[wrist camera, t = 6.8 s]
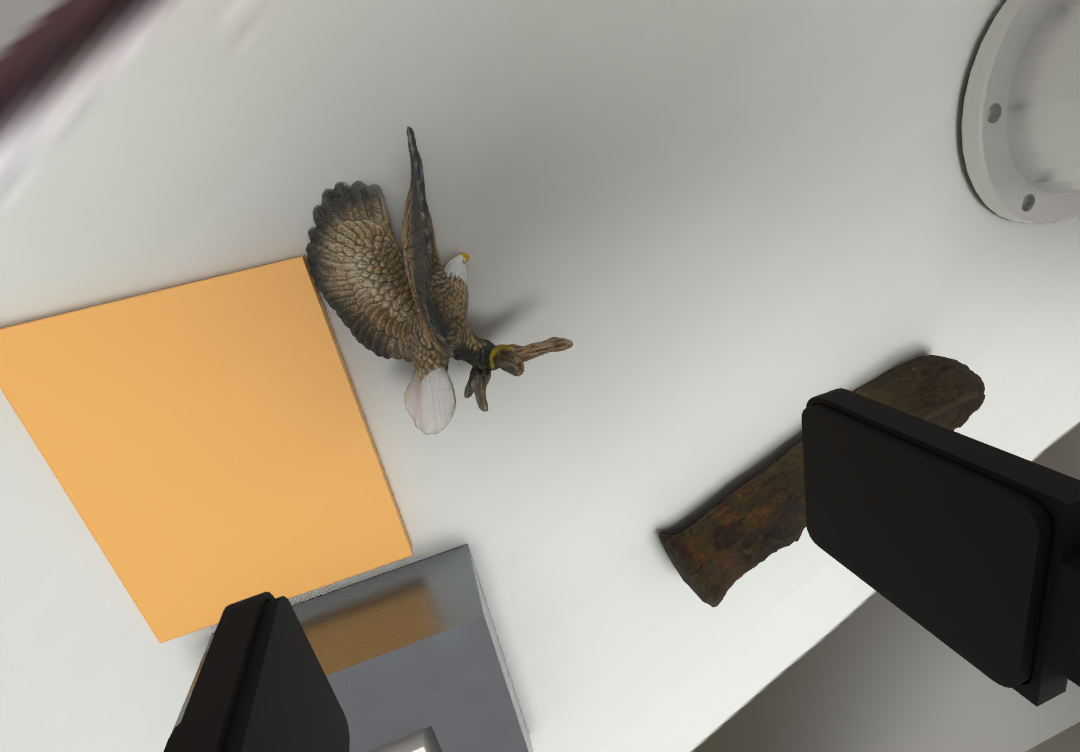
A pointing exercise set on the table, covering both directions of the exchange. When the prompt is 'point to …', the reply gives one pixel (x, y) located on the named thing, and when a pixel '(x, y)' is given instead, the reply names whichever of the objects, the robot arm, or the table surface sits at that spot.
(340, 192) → the eagle figurine
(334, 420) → the pad
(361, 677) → the breaker box
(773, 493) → the hand tool
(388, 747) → the button
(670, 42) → the table surface
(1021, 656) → the robot arm
